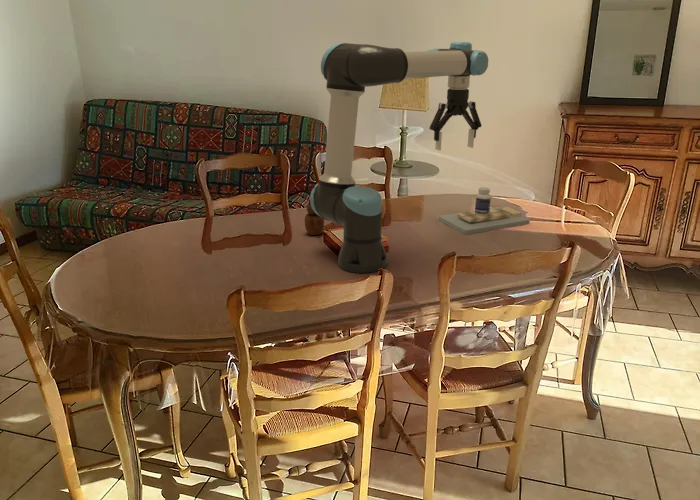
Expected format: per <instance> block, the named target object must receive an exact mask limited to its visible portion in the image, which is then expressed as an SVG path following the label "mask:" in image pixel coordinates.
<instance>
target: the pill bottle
mask: <svg viewBox="0 0 700 500" xmlns="http://www.w3.org/2000/svg"><path fill="white" fill-rule="evenodd" d="M490 192H491V188H488V187H484V186H483V187H479V188H478V193H477V194H476V195H475V205H474V211H475V212H474V213H475V214H476V215H479V216H487V215H489V211H490V208H491V201H492V196H491V194H490Z"/></svg>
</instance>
